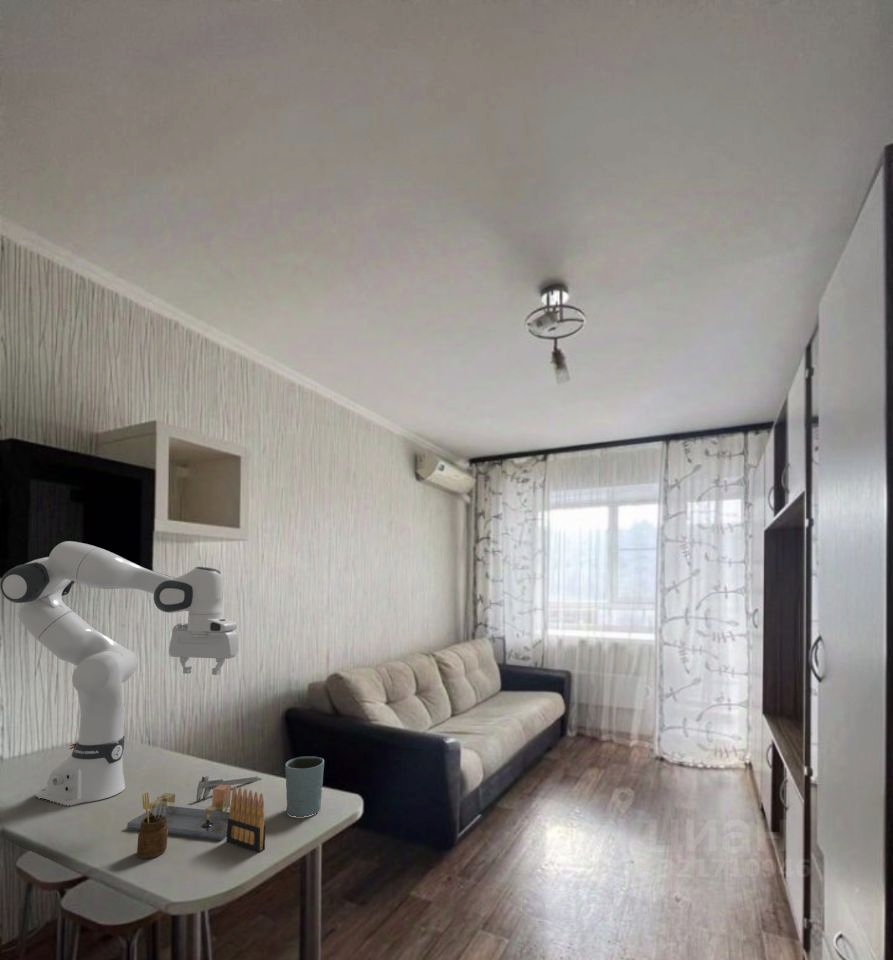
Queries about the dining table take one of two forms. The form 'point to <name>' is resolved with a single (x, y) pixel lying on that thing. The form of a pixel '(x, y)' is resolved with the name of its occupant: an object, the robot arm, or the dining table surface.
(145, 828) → the utensil holder
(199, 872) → the dining table surface
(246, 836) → the ammunition clip
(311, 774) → the grey-teal cup
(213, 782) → the caliper
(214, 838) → the bolt plate
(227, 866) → the dining table surface
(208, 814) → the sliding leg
